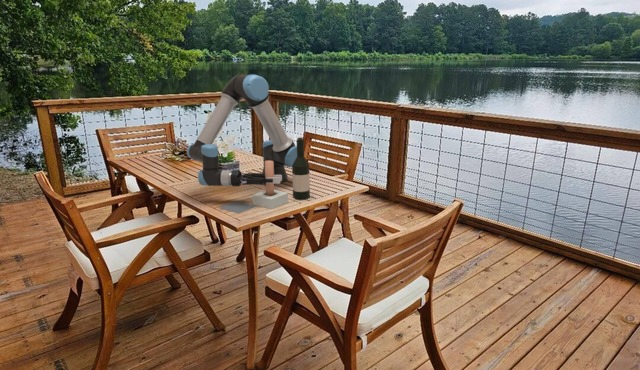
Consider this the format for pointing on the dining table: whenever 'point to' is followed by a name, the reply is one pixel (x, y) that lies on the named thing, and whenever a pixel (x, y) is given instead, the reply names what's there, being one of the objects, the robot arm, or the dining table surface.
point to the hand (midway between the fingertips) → (280, 179)
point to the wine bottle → (300, 174)
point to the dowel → (269, 173)
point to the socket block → (270, 199)
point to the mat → (237, 207)
